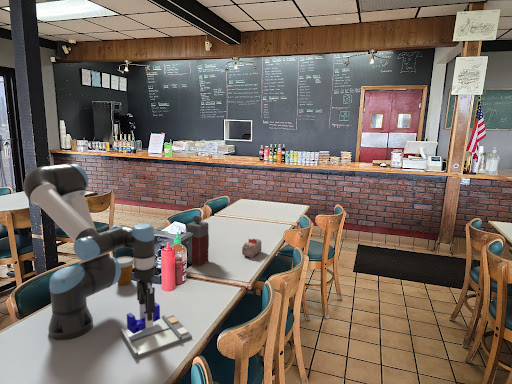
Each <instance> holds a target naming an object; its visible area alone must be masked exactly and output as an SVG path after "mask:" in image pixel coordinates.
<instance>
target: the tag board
mask: <svg viewBox="0 0 512 384" xmlns="http://www.w3.org/2000/svg"><path fill="white" fill-rule="evenodd" d="M120 334H121V337H122V339H123V340H124V342H125V343H126V346H127V347H128V349H129V350H130V352H131V354H132V356H133V358H134V359H135V360H137V359H139V358H142V357H145V356H148V355H150V354H153V353H155V352H158V351H161V350H164V349H166V348H169V347H171V346H175V345H177V344H180V343H182V342H185V341H187V340H188V341H189V340H190V339H192V338H193V335H192V334H191V333H190V331H189V330H188V329H186V327H185V326H184V325H183V323H181V322H180V321H179V319H178V318H177V317H176V316H175V315H174V314H173V315H169V316H166V315H161V317H160V319H159V320H157V321H155V322H153V327H150V328H147V329H146V328H145V329H143V330H141V331H139V332H137V333H135V334H133V333H132V332H131V331H129V330H128V329H125V328H124V327H123V328H120Z"/></svg>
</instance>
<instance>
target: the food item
mask: <svg viewBox="0 0 512 384" xmlns="http://www.w3.org/2000/svg"><path fill="white" fill-rule="evenodd" d="M241 249H242V250H241V254H242V256H244V257H247V258H250V259H252V258H254V257H255V256H256V255H258V254H259V253H261V252H262V240H260V239H258V238H248V242H245V243H243V246H242V247H241Z"/></svg>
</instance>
